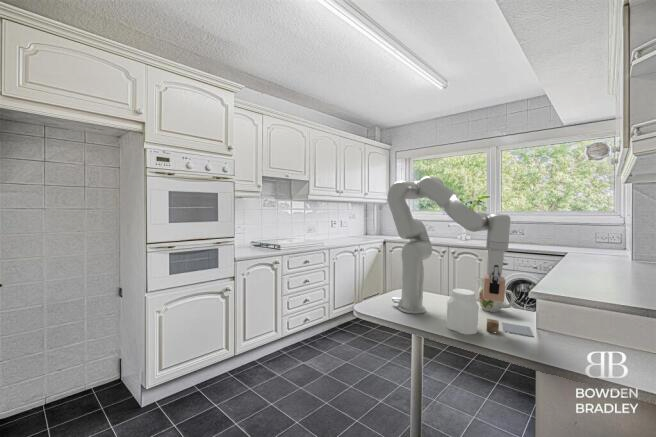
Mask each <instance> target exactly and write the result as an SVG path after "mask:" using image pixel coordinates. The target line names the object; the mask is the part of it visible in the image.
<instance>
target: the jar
mask: <svg viewBox="0 0 656 437" xmlns="http://www.w3.org/2000/svg"><path fill="white" fill-rule="evenodd" d="M446 306H447V308H446V309H447V310H446V321H445V327H446V328H447V329H448V330H450V331H455V332H458V333H460V334H462V335H475V334H477V333H478V331H479V330H478V323H479V308H480V304H478V302H477V300H476V292H475V291H472V290H470V289H468V288H467V289H466V288H454V289H452V292H451V296H450V297H449V299H448V300H447V303H446Z"/></svg>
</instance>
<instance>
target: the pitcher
mask: <svg viewBox="0 0 656 437" xmlns="http://www.w3.org/2000/svg"><path fill="white" fill-rule="evenodd" d="M474 280H476V281H477V283H478V284H479V288H478V293H477V297H478V303H479V307H480V308H481V309H482V310H483V309H484V310H483V311H485V310H486V311H485V312H488V311H490V313H498V312H499V311H500V310H501V309H509V308H511V307H512V306H513V305H514V304H515V294H514V293H513V292H512V291H511V290H508V289H505V292H504V294H509V295H510V297H511V298H510V302H509V304H506V305H504V302H501V301H495V300H489V299H483V286H484V278H482V277H474Z"/></svg>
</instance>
